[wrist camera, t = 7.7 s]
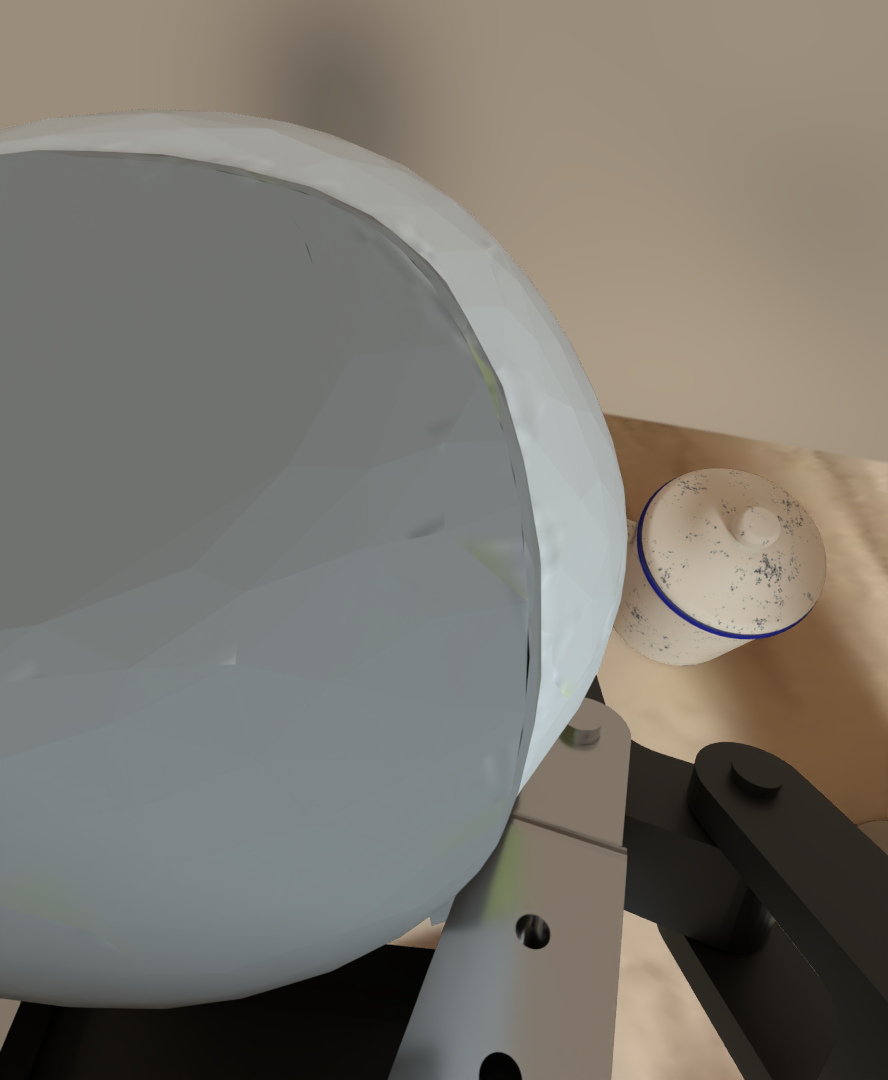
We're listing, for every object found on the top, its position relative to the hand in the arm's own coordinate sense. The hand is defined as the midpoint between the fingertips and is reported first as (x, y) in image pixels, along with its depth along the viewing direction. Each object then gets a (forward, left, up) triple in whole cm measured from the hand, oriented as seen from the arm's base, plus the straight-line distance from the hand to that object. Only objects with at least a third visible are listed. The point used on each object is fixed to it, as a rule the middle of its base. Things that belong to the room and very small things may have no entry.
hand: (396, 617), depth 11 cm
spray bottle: (+1, +2, -10) cm, 10 cm away
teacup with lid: (-15, -4, -24) cm, 29 cm away
